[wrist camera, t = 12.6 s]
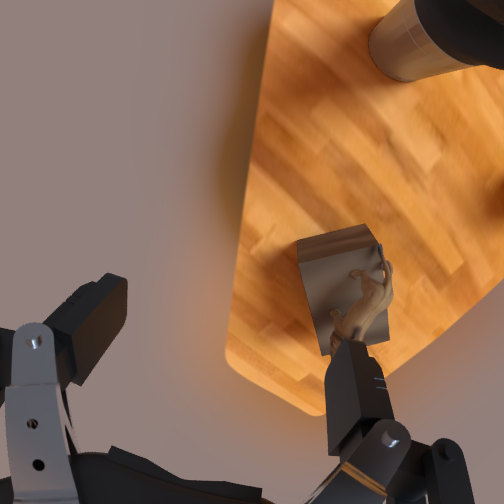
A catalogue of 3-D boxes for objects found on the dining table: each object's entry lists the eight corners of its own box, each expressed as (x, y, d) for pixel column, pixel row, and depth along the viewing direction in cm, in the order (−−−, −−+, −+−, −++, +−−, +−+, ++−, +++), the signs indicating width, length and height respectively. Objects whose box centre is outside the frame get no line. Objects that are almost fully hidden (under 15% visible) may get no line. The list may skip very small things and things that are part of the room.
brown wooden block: (296, 239, 45) (297, 263, 37) (364, 222, 43) (378, 244, 35) (318, 323, 50) (321, 356, 43) (378, 309, 48) (389, 340, 40)
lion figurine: (354, 342, 41) (363, 388, 33) (318, 334, 41) (322, 382, 33) (397, 247, 35) (423, 283, 27) (357, 235, 35) (375, 270, 27)
